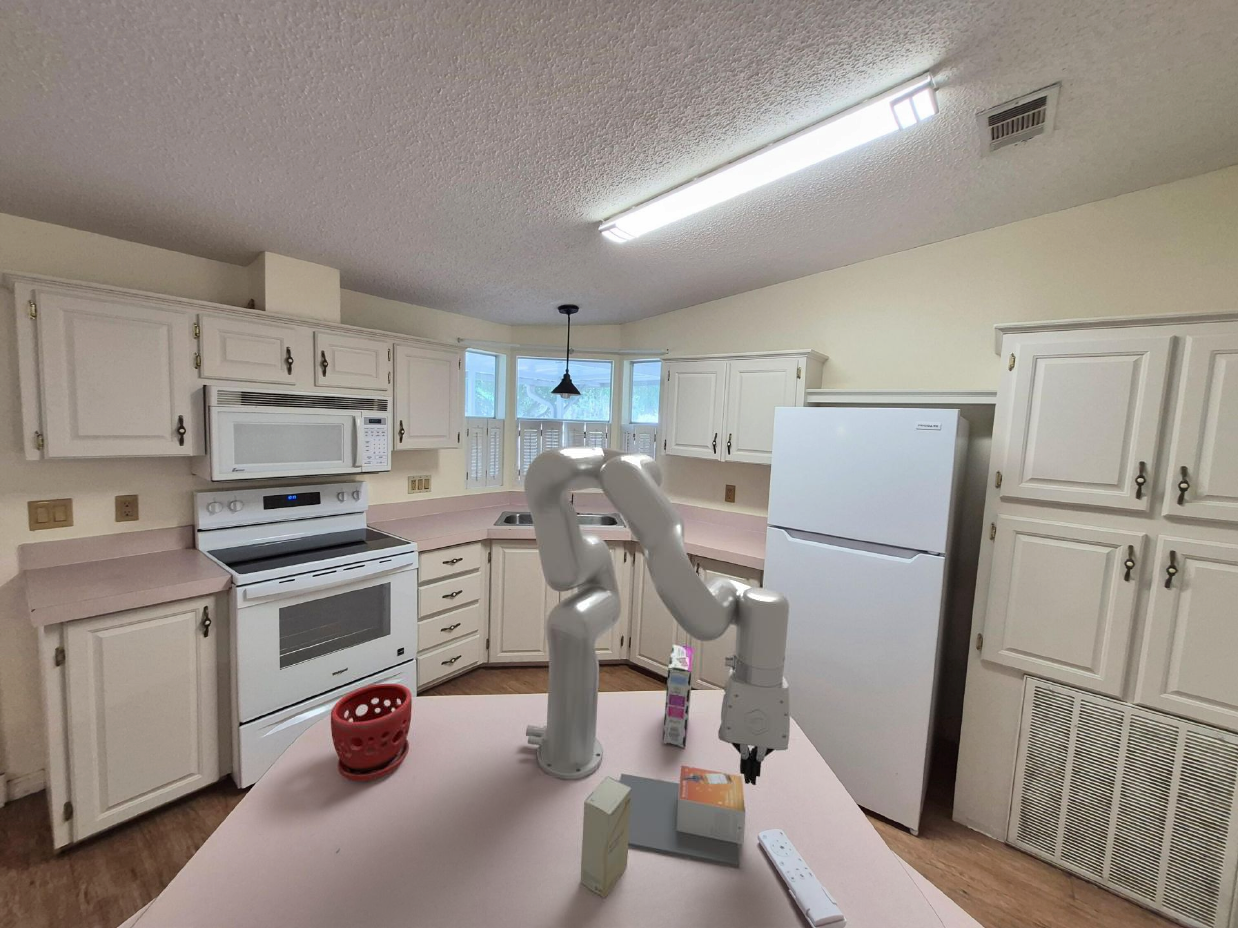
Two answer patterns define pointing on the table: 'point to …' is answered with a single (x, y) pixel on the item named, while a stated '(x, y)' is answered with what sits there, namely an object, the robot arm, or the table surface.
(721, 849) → the mat
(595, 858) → the skincare box
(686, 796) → the small box
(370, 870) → the table surface
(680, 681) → the candy bar box
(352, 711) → the plant pot
